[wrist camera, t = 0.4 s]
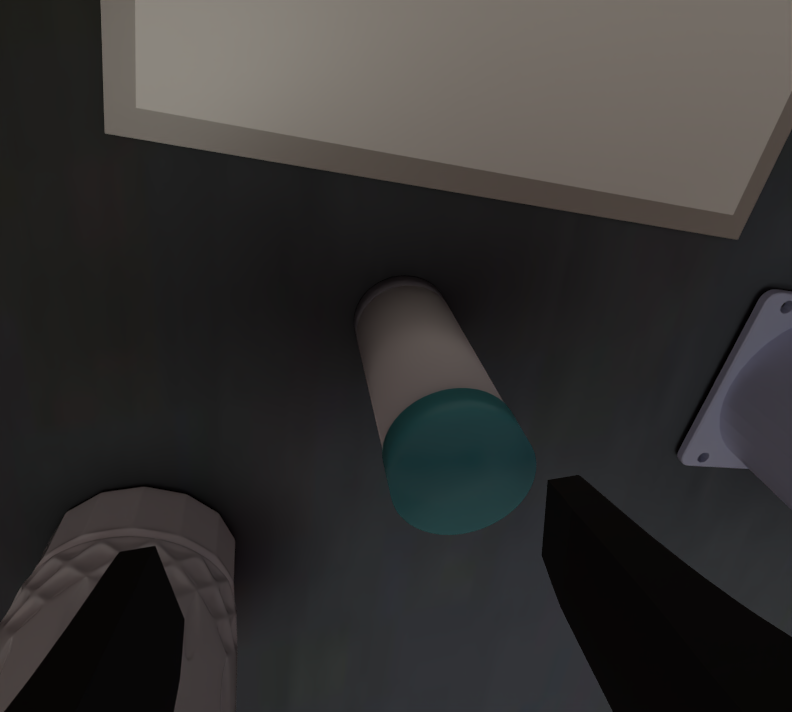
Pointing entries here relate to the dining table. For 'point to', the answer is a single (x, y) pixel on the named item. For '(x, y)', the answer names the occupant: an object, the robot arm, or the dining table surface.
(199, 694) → the white cup
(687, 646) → the robot arm
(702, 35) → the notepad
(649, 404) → the dining table surface
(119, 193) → the dining table surface
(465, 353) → the marker
